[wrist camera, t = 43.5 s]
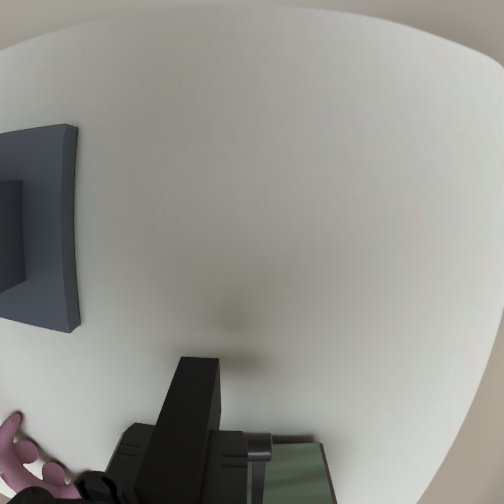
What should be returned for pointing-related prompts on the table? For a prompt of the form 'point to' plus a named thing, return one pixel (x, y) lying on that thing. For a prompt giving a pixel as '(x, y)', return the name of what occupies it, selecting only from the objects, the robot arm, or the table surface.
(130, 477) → the robot arm
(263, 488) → the drawer
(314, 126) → the table surface
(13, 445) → the video game controller
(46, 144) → the pedestal
